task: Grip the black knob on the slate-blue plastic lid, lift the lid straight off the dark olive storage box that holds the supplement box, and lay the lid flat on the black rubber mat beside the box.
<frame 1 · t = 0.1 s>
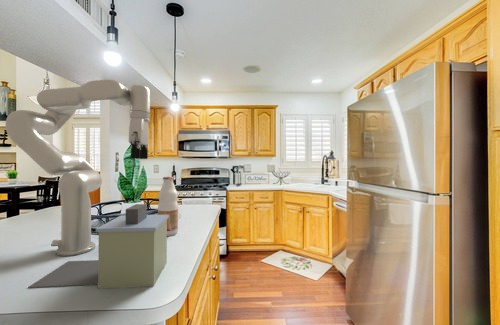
hand: (139, 158, 96), 37 cm above the kitchen island, tool pointing down, fingers open, 9 cm apart
storage box: (136, 274, 74), on the kitchen island
mat: (80, 272, 75), on the kitchen island
fruit juice: (167, 233, 116), on the kitchen island
lid: (136, 224, 74), point 16 cm above the kitchen island, touching storage box
supplement box: (136, 275, 74), resting in storage box
smoothie: (154, 248, 97), on the kitchen island
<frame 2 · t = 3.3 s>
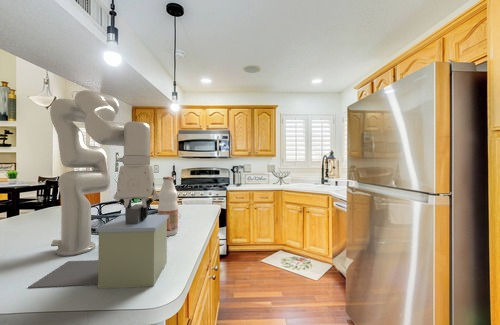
hand: (136, 219, 74), 18 cm above the kitchen island, tool pointing down, fingers closed on lid, 3 cm apart
lid: (136, 224, 74), point 16 cm above the kitchen island, touching gripper, storage box
everything else where it was.
when the fingers open (3 cm above the kitchen island, at t = 10.6 s): lid drops 1 cm, resting on mat.
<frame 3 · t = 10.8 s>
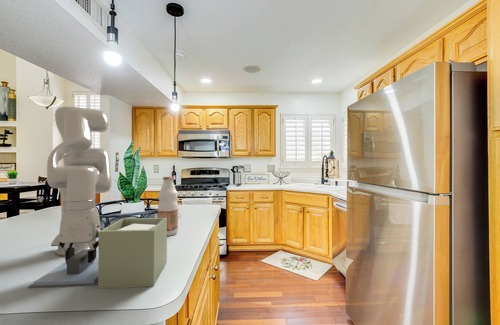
hand: (81, 261, 75), 4 cm above the kitchen island, tool pointing down, fingers open, 5 cm apart
lid: (80, 271, 75), resting on mat
everything else where it was.
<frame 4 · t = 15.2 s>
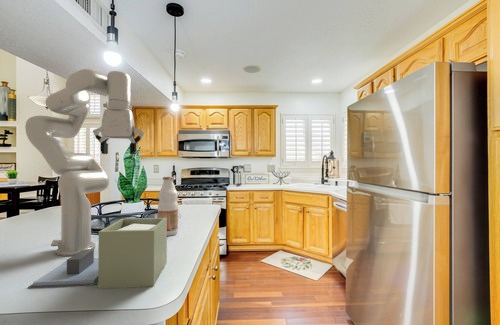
hand: (118, 154, 85), 38 cm above the kitchen island, tool pointing down, fingers open, 9 cm apart
nothing on the kitchen island moved.
at the end: lid inside the target area on the mat (0.0 cm from its centre), point 0.3 cm above the mat's base; lid tilted 0°; the gripper is holding nothing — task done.
